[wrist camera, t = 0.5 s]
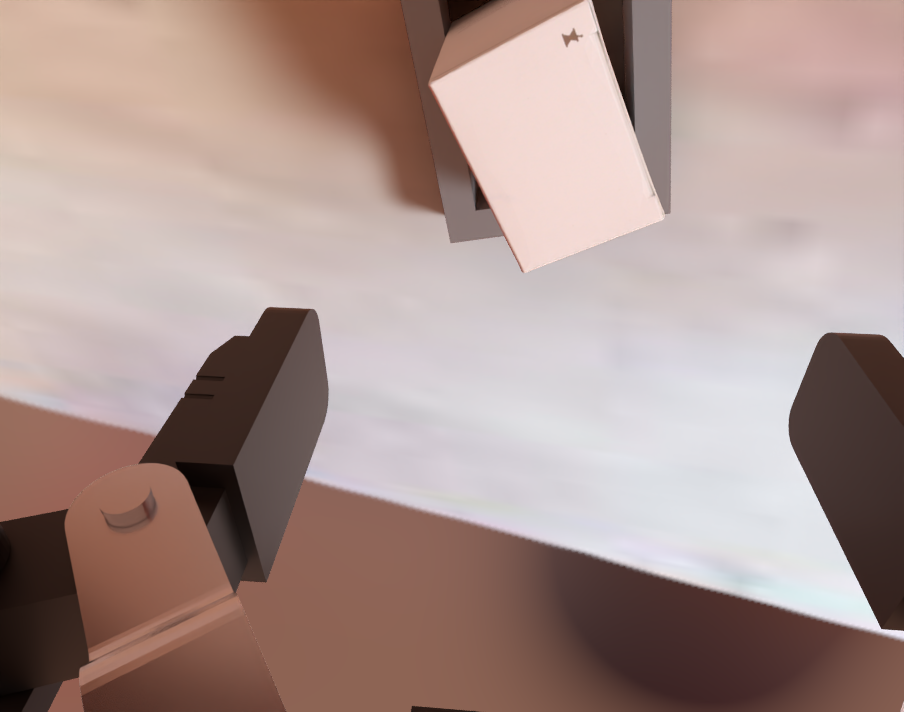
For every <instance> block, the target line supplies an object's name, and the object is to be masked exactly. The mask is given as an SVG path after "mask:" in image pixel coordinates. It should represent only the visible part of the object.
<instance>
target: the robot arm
mask: <svg viewBox="0 0 904 712" xmlns="http://www.w3.org/2000/svg"><path fill="white" fill-rule="evenodd" d="M327 406H328V380H327V373H326V366H325V359H324V352H323V345H322V339H321V332H320V325H319V319H318V315H317V313H316V311H315V310H314V309H300V308H277V307H269V308H267V309H266V310H265V311H264V313H263V314H262V316H261V318H260V319H259V321H258V323H257V324H256V326H255V328H254V329H253V331H252V333H251V334H250V336H234V337H233V338H231V339H230V340H229V341H227V342H226V343H224V344H223V345H222V346H220V347H219V348H218V349H216V350H215V351H213V352H212V353H211V354H210V355H209V357H208V358H207V360H206V361H205V363H204V364H203V366H202V367H201V369H200V370H199V372H198V373H197V375H196V380H193V381H192V383H191V384H190V386H189V387H188V389H187V390H186V392H185V397H184V398H181V399H180V401H179V402H178V404H177V406H176V407H175V409H174V410H173V412H172V413H171V415H170V416H169V418H168V419H167V421H166V422H165V424H164V425H163V427H162V428H161V430H160V431H159V433H158V435H157V436H156V438H155V439H154V441H153V442H152V444H151V445H150V447H149V448H148V450H147V451H146V453H145V455H144V456H143V458H142V459H141V461H140V462H139V464H136V465H131V466H127V467H123V468H120V469H117V470H115V471H113V472H110V473H108V474H106V475H104V476H102V477H101V478H99V479H97V480H96V481H94V482H93V483H91V484H90V485H89V486H88V487H87V488H85V489H84V490H83V491H82V492H81V493H80V494H79V495H78V496H77V497H76V498H75V500H74V501H73V503H72V504H71V506H70V507H69V509H66V510H61V511H56V512H51V513H46V514H40V515H36V516H30V517H25V518H20V519H14V520H9V521H3V522H0V712H48V710H49V708H50V706H51V704H52V702H53V700H54V698H55V696H56V694H57V692H58V690H59V688H60V686H61V684H62V682H63V681H66V680H70V679H74V678H78V677H79V683H80V691H81V697H82V703H83V709H84V712H286V709H285V707H284V705H283V702H282V700H281V698H280V695H279V693H278V691H277V688H276V686H275V683H274V681H273V678H272V676H271V674H270V671H269V669H268V667H267V664H266V662H265V659H264V657H263V655H262V652H261V650H260V647H259V645H258V643H257V640H256V638H255V635H254V633H253V631H252V628H251V626H250V624H249V621H248V619H247V617H246V614H245V612H244V609H243V607H242V605H241V602H240V600H239V598H238V596H237V594H236V590H237V588H238V586H239V583H240V581H254V582H267V579H268V576H269V574H270V571H271V568H272V565H273V562H274V560H275V557H276V554H277V551H278V549H279V546H280V543H281V540H282V537H283V534H284V532H285V529H286V526H287V523H288V520H289V518H290V515H291V512H292V510H293V507H294V504H295V501H296V498H297V496H298V493H299V490H300V487H301V485H302V482H303V479H304V476H305V474H306V471H307V468H308V465H309V462H310V460H311V457H312V454H313V451H314V449H315V446H316V443H317V440H318V437H319V435H320V432H321V429H322V426H323V423H324V421H325V417H326V413H327ZM789 436H790V441H791V445H792V447H793V449H794V451H795V453H796V455H797V458H798V460H799V462H800V464H801V466H802V468H803V470H804V472H805V474H806V476H807V478H808V480H809V482H810V484H811V486H812V488H813V490H814V492H815V494H816V496H817V498H818V500H819V502H820V505H821V507H822V509H823V511H824V513H825V515H826V517H827V519H828V521H829V523H830V525H831V527H832V529H833V531H834V533H835V535H836V537H837V539H838V541H839V543H840V545H841V547H842V549H843V551H844V554H845V556H846V558H847V560H848V562H849V564H850V566H851V568H852V570H853V572H854V574H855V576H856V578H857V580H858V582H859V584H860V586H861V588H862V590H863V592H864V594H865V596H866V598H867V600H868V603H869V605H870V607H871V609H872V611H873V613H874V615H875V617H876V619H877V621H878V623H879V625H880V627H881V629H888V630H902V631H904V358H903V357H902V355H901V354H900V353H899V352H898V351H897V349H896V348H895V347H894V346H893V344H892V343H891V342H890V341H889V340H888V339H887V338H886V337H885V336H883V335H876V334H853V333H827V334H825V335H824V336H822V338H821V339H820V340H819V342H818V344H817V346H816V348H815V350H814V353H813V355H812V358H811V360H810V363H809V365H808V368H807V370H806V373H805V375H804V378H803V380H802V383H801V385H800V388H799V390H798V393H797V395H796V398H795V400H794V402H793V405H792V408H791V411H790V416H789ZM411 712H476V711H465V710H453V709H441V708H429V707H417V706H416V707H415V706H412V709H411ZM901 712H904V703H903V706H902V709H901Z"/></svg>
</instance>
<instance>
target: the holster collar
mask: <svg viewBox="0 0 904 712" xmlns="http://www.w3.org/2000/svg"><path fill="white" fill-rule="evenodd" d="M401 5H402V10H403V15H404V20H405V24H406V29H407V34H408V39H409V44H410V49H411V53H412V58H413V63H414V68H415V73H416V78H417V82H418V87H419V92H420V97H421V102H422V107H423V112H424V116H425V121H426V126H427V131H428V136H429V141H430V145H431V150H432V155H433V160H434V165H435V170H436V174H437V179H438V184H439V189H440V194H441V199H442V204H443V208H444V213H445V218H446V223H447V228H448V233H449V237H450V242H451V243H455V242H463V241H470V240H477V239H485V238H492V237H500V236H504V235H503V232H502V231H501V229H500V227H499V225H498V223H497V221H496V219H495V217H494V215H493V213H492V211H491V209H490V207H489V205H488V203H487V201H486V199H485V197H484V195H483V193H482V191H481V189H480V187H479V186H478V183H477V181H476V179H475V177H474V175H473V173H472V171H471V169H470V167H469V165H468V163H467V161H466V159H465V157H464V155H463V153H462V151H461V149H460V147H459V145H458V143H457V141H456V139H455V137H454V135H453V133H452V131H451V129H450V127H449V125H448V123H447V121H446V119H445V117H444V115H443V113H442V111H441V110H440V108H439V106H438V104H437V102H436V100H435V98H434V96H433V94H432V92H431V90H430V88H429V86H428V83H429V80H430V77H431V74H432V72H433V69H434V66H435V64H436V61H437V59H438V56H439V54H440V51H441V48H442V46H443V43H444V40H445V38H446V35H447V33H448V30H449V28H450V25H451V22H450V16H449V10H448V4H447V0H401ZM623 31H624V62H625V94H626V109H627V112H628V115H629V118H630V121H631V123H632V126H633V129H634V132H635V135H636V138H637V141H638V144H639V147H640V150H641V152H642V155H643V158H644V161H645V164H646V166H647V169H648V172H649V175H650V177H651V180H652V183H653V185H654V188H655V190H656V193H657V196H658V198H659V201H660V203H661V206H662V208H663V210H664V213H665V214H670V198H671V50H672V0H623Z"/></svg>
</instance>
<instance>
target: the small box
mask: <svg viewBox="0 0 904 712" xmlns="http://www.w3.org/2000/svg"><path fill="white" fill-rule="evenodd" d="M428 86H429V88H430V90H431V92H432V94H433V96H434V98H435V100H436V102H437V104H438V106H439V108H440V110H441V111H442V113H443V115H444V117H445V119H446V121H447V123H448V125H449V127H450V129H451V131H452V133H453V135H454V137H455V139H456V141H457V143H458V145H459V147H460V149H461V151H462V153H463V155H464V157H465V159H466V161H467V163H468V165H469V167H470V169H471V171H472V173H473V175H474V177H475V179H476V181H477V183H478V185H479V187H480V189H481V191H482V193H483V195H484V197H485V199H486V201H487V203H488V205H489V207H490V209H491V211H492V213H493V215H494V217H495V219H496V221H497V223H498V225H499V227H500V229H501V231H502V232H503V235H504V237H505V239H506V241H507V243H508V245H509V246H510V248H511V250H512V252H513V254H514V256H515V258H516V260H517V262H518V264H519V266H520V268H521V271H522V272H523V273H526V272H529V271H531V270H534V269H536V268H539V267H541V266H544V265H547V264H549V263H552V262H554V261H557V260H560V259H562V258H565V257H567V256H570V255H573V254H575V253H578V252H580V251H583V250H586V249H588V248H591V247H593V246H596V245H599V244H601V243H604V242H606V241H609V240H612V239H614V238H617V237H620V236H622V235H625V234H627V233H630V232H632V231H635V230H638V229H640V228H643V227H645V226H648V225H651V224H653V223H656V222H659V221H661V220H663V219H664V217H665V213H664V210H663V208H662V206H661V203H660V201H659V198H658V196H657V193H656V190H655V188H654V185H653V183H652V180H651V177H650V175H649V172H648V169H647V166H646V164H645V161H644V158H643V155H642V152H641V150H640V147H639V144H638V141H637V138H636V135H635V132H634V129H633V126H632V123H631V121H630V118H629V115H628V112H627V109H626V106H625V103H624V100H623V97H622V94H621V92H620V89H619V86H618V83H617V80H616V77H615V74H614V71H613V68H612V65H611V62H610V59H609V56H608V53H607V50H606V47H605V44H604V41H603V37H602V34H601V31H600V27H599V24H598V21H597V17H596V14H595V11H594V7H593V3H592V0H491V1H489V2H488V3H486V4H484V5H482V6H480V7H479V8H477V9H475V10H473V11H471V12H470V13H468V14H466V15H464V16H462V17H461V18H459V19H457V20H455V21H453V22H452V23H451V25H450V28H449V30H448V33H447V35H446V38H445V40H444V43H443V46H442V48H441V51H440V54H439V56H438V59H437V61H436V64H435V66H434V69H433V72H432V74H431V77H430V80H429V83H428Z"/></svg>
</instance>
